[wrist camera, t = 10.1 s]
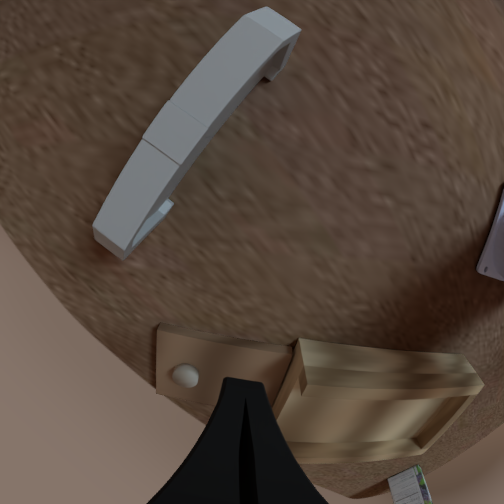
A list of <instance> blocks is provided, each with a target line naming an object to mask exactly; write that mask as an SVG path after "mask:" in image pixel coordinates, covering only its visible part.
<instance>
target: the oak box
mask: <svg viewBox="0 0 504 504" xmlns="http://www.w3.org/2000/svg"><path fill="white" fill-rule="evenodd" d="M483 386H484V383H483V382H482V380H481V379H480V378H479V376H478V375H477V373H476V372H475V370H474V369H473V368H472V366H471V365H470V363H469V362H468V361H467V359H466V358H465V357H464V355H463V354H449V353H431V352H416V351H403V350H391V349H381V348H371V347H362V346H353V345H345V344H337V343H330V342H322V341H315V340H309V339H302V338H299V339H298V341H297V344H296V346H295V349H294V351H293V355H292V358H291V361H290V363H289V366H288V368H287V371H286V373H285V376H284V378H283V381H282V383H281V385H280V388H279V390H278V393H277V395H276V397H275V400H274V402H273V404H272V407H271V408H272V411H273V413H274V416H275V418H276V421H277V423H278V425H279V428H280V430H281V432H282V434H283V436H284V438H285V440H286V442H287V444H288V446H289V448H290V450H291V452H292V454H293V455H294V457H295V459H296V461H297V462H298V464H335V463H355V462H368V461H378V460H387V459H395V458H402V457H408V456H414V455H420V454H423V453H424V452H425V451H426V450H427V449H428V448H429V447H430V446H431V445H432V444H433V443H434V442H435V441H436V440H437V439H438V438H439V437H440V436H441V435H442V434H443V433H444V432H445V431H446V430H447V429H448V428H449V427H450V426H451V425H452V424H453V423H454V421H455V420H456V419H457V418H458V417H459V416H460V415H461V414H462V412H463V411H464V410H465V409H466V408H467V406H468V405H469V404H470V403H471V402H472V400H473V399H474V398H475V397H476V395H477V394H478V393H479V392H480V390H481V389H482V388H483Z"/></svg>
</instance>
